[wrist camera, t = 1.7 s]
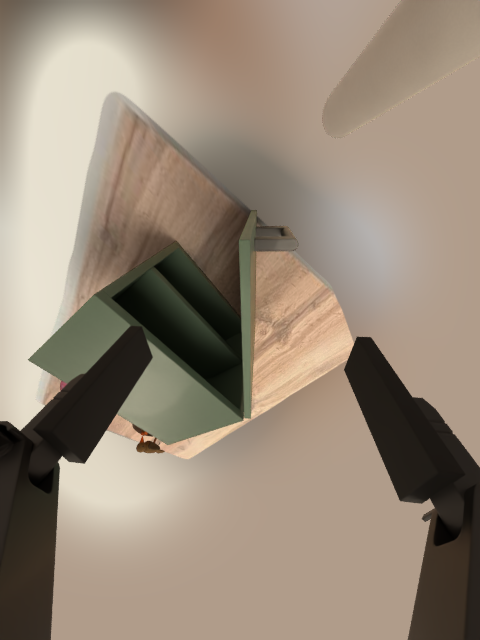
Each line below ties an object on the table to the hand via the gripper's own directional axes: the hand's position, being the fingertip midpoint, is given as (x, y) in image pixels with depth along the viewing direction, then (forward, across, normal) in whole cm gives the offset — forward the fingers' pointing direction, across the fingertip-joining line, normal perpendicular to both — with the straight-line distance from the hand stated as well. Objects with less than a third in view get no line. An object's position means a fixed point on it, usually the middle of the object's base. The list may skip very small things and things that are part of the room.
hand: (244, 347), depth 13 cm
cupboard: (+32, -16, -17) cm, 39 cm away
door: (+32, +2, -8) cm, 33 cm away
